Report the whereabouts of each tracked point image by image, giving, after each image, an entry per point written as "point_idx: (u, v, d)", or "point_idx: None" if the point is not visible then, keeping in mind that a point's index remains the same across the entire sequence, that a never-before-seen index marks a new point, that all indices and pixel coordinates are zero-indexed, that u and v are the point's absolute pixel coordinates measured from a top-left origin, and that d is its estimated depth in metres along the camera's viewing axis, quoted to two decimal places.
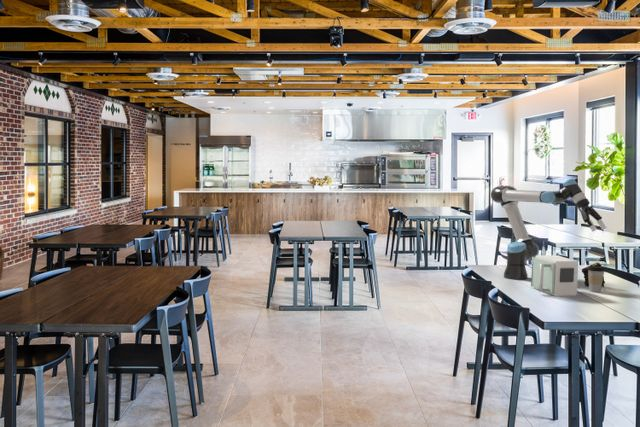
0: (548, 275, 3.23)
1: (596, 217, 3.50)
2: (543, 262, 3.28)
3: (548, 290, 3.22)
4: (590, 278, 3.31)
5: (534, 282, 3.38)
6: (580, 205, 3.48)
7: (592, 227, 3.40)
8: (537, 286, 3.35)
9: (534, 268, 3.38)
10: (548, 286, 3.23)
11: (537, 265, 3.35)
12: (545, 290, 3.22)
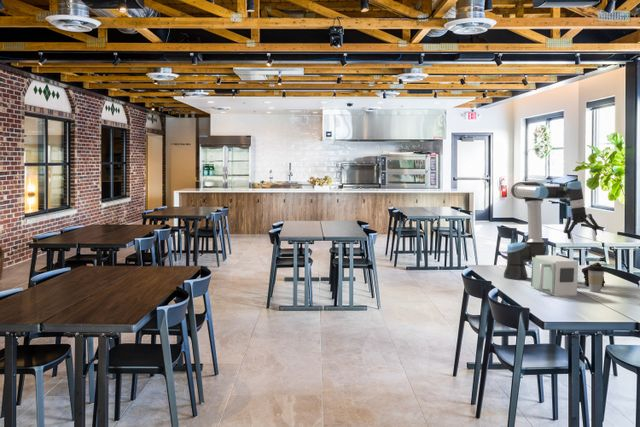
0: (548, 275, 3.23)
1: (591, 227, 3.28)
2: (543, 262, 3.28)
3: (548, 290, 3.22)
4: (590, 278, 3.31)
5: (534, 282, 3.38)
6: (572, 213, 3.29)
7: (570, 240, 3.28)
8: (537, 286, 3.35)
9: (534, 268, 3.38)
10: (548, 286, 3.23)
11: (537, 265, 3.35)
12: (545, 290, 3.22)
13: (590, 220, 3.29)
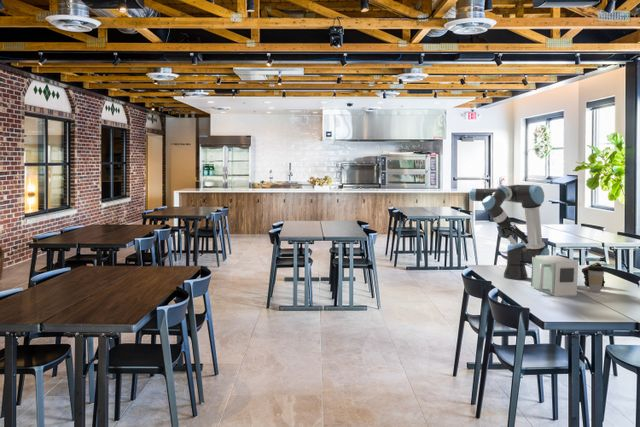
0: (548, 275, 3.23)
1: None
2: (543, 262, 3.28)
3: (548, 290, 3.22)
4: (590, 278, 3.31)
5: (534, 282, 3.38)
6: None
7: None
8: (537, 286, 3.35)
9: (534, 268, 3.38)
10: (548, 286, 3.23)
11: (537, 265, 3.35)
12: (545, 290, 3.22)
13: None
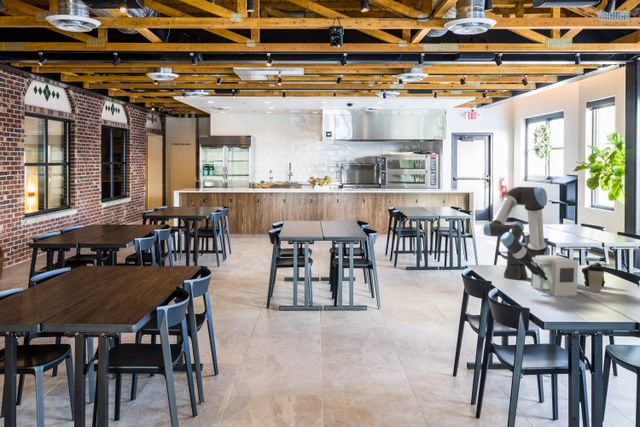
0: (548, 275, 3.23)
1: None
2: (543, 262, 3.28)
3: (548, 290, 3.22)
4: (590, 278, 3.31)
5: (534, 282, 3.38)
6: None
7: None
8: (537, 286, 3.35)
9: None
10: (548, 286, 3.23)
11: None
12: (545, 290, 3.22)
13: None
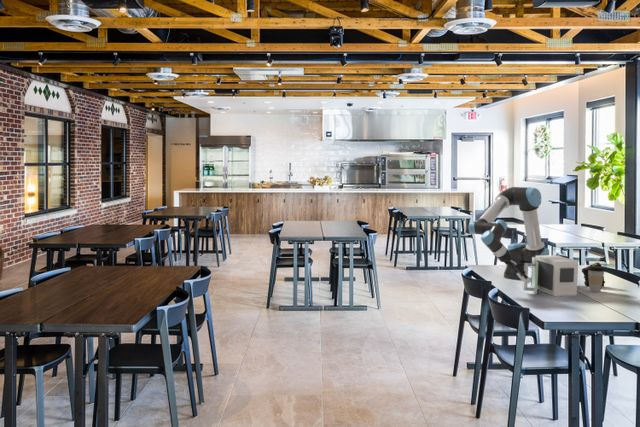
0: (534, 275, 3.24)
1: None
2: (534, 262, 3.29)
3: (533, 289, 3.23)
4: (590, 278, 3.31)
5: (532, 282, 3.38)
6: None
7: None
8: (532, 286, 3.35)
9: (532, 268, 3.38)
10: (534, 286, 3.24)
11: None
12: (529, 289, 3.23)
13: None
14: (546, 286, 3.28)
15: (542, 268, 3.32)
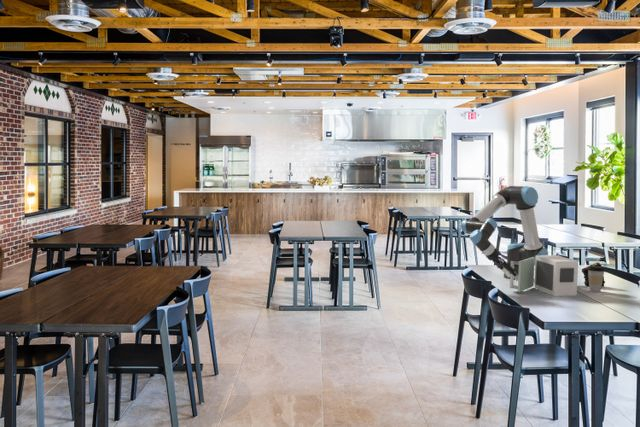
0: None
1: None
2: None
3: None
4: (590, 278, 3.31)
5: None
6: None
7: None
8: None
9: None
10: None
11: None
12: (515, 287, 3.29)
13: None
14: (546, 286, 3.28)
15: (542, 268, 3.32)
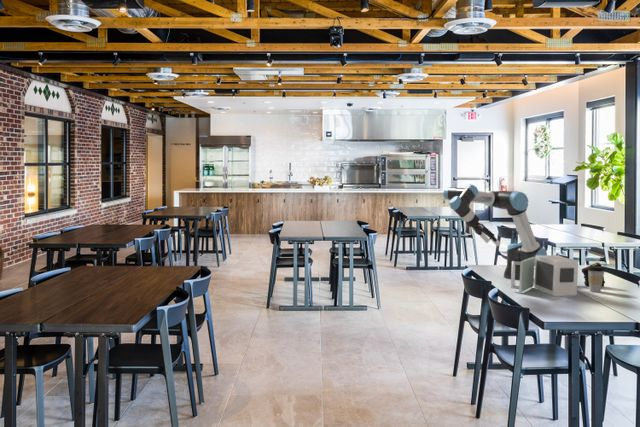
0: None
1: None
2: None
3: None
4: (590, 278, 3.31)
5: None
6: None
7: None
8: None
9: None
10: None
11: None
12: (516, 287, 3.28)
13: None
14: (546, 286, 3.28)
15: (542, 268, 3.32)
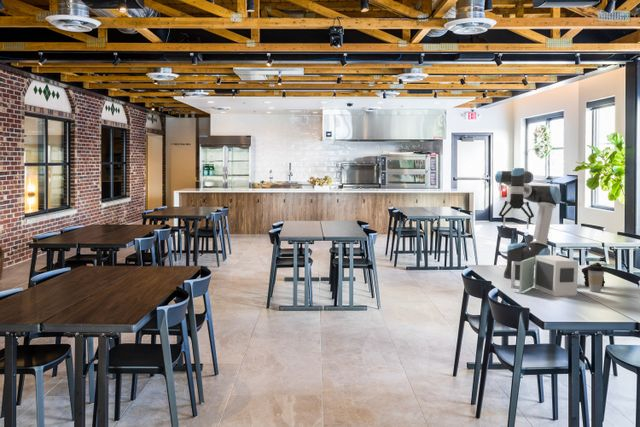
0: None
1: (526, 214, 3.36)
2: None
3: None
4: (590, 278, 3.31)
5: None
6: None
7: (503, 224, 3.41)
8: None
9: None
10: None
11: None
12: (516, 287, 3.28)
13: None
14: (546, 286, 3.28)
15: (542, 268, 3.32)
